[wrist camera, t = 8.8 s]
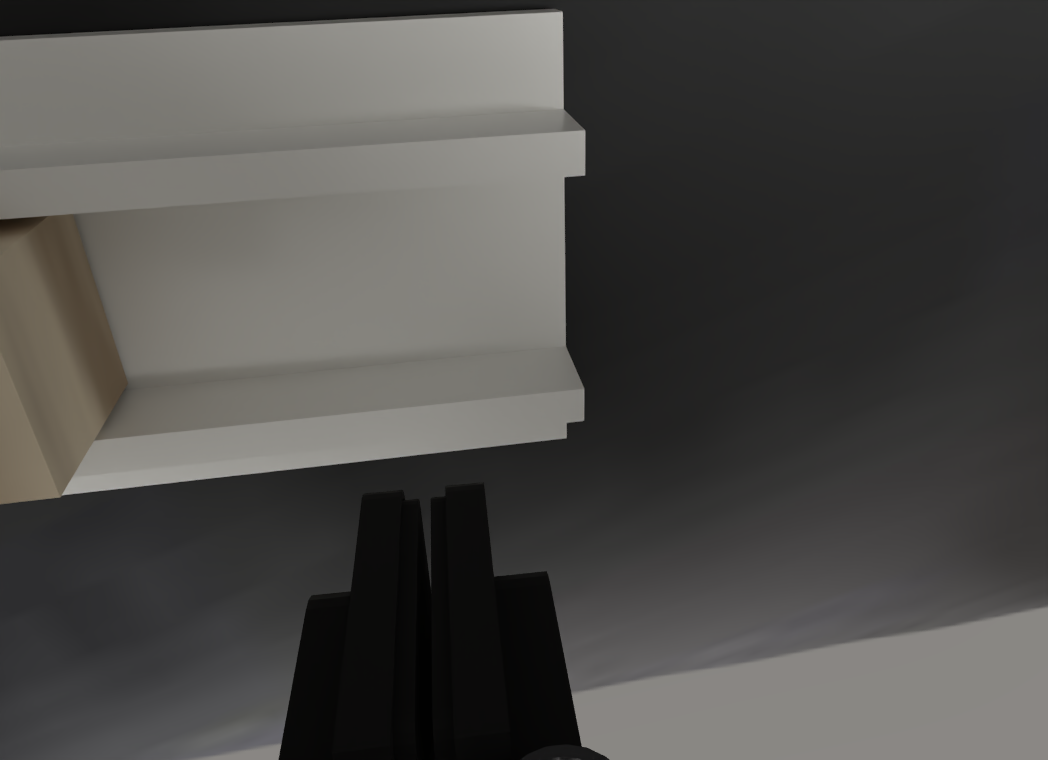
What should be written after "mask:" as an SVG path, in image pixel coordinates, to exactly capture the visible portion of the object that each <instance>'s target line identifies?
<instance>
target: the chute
mask: <svg viewBox="0 0 1048 760" xmlns="http://www.w3.org/2000/svg"><path fill="white" fill-rule="evenodd" d="M572 176H585V130H584V129H583V128H582V127H581V126H580V125H579V124H578V123H577V122H576V121H575V120H574V119H573V118H572V117H571V116H570V115H569V114H568V113H567V112H566V111H565V110H564V96H563V12H562V11H560V10H557V9H538V10H518V11H498V12H478V13H459V14H439V15H419V16H399V17H380V18H360V19H340V20H320V21H301V22H281V23H261V24H242V25H222V26H202V27H182V28H163V29H143V30H123V31H103V32H84V33H64V34H44V35H24V36H5V37H0V219H13V218H26V217H40V216H53V215H66V214H73V216H74V220H75V223H76V226H77V229H78V232H79V235H80V238H81V241H82V244H83V247H84V250H85V253H86V256H87V259H88V262H89V265H90V268H91V271H92V275H93V278H94V281H95V284H96V287H97V290H98V293H99V296H100V299H101V302H102V305H103V308H104V311H105V314H106V317H107V320H108V323H109V326H110V329H111V333H112V336H113V339H114V342H115V345H116V348H117V351H118V354H119V357H120V360H121V363H122V366H123V369H124V372H125V375H126V378H127V381H128V384H127V386H126V388H125V389H124V391H123V393H122V394H121V396H120V398H119V400H118V401H117V403H116V405H115V406H114V408H113V410H112V411H111V413H110V415H109V416H108V418H107V420H106V421H105V423H104V425H103V426H102V428H101V430H100V432H99V433H98V435H97V437H96V438H95V440H94V442H93V443H92V445H91V447H90V448H89V450H88V452H87V453H86V455H85V457H84V458H83V460H82V462H81V463H80V465H79V467H78V469H77V470H76V472H75V474H74V475H73V477H72V479H71V480H70V482H69V484H68V485H67V487H66V489H65V490H64V492H63V494H62V495H68V494H77V493H86V492H95V491H104V490H112V489H121V488H130V487H139V486H148V485H157V484H166V483H174V482H183V481H192V480H201V479H210V478H219V477H228V476H236V475H245V474H254V473H263V472H272V471H281V470H290V469H298V468H307V467H316V466H325V465H334V464H343V463H352V462H360V461H369V460H378V459H387V458H396V457H405V456H413V455H422V454H431V453H440V452H449V451H458V450H467V449H475V448H484V447H493V446H502V445H511V444H520V443H529V442H537V441H546V440H555V439H564V438H567V423H570V422H579V421H584V387H583V384H582V382H581V380H580V378H579V375H578V373H577V371H576V368H575V366H574V364H573V361H572V359H571V357H570V355H569V352H568V350H567V348H566V306H565V201H564V177H572Z"/></svg>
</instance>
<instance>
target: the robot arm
mask: <svg viewBox="0 0 1048 760" xmlns="http://www.w3.org/2000/svg"><path fill="white" fill-rule="evenodd" d="M445 489H446V496H445V497H435V498H431V587H430V579H429V571H428V563H427V555H426V547H425V539H424V531H423V523H422V515H421V508H420V501H419V499H414V500H405V496H404V492H403V490H398V491H387V492H377V493H366V494H363V497H362V503H361V511H360V520H359V528H358V537H357V545H356V553H355V562H354V570H353V579H352V587H351V592H342V593H332V594H322V595H313V596H311V597H310V599H309V601H308V605H307V608H306V613H305V619H304V624H303V630H302V635H301V640H300V646H299V651H298V657H297V662H296V668H295V673H294V679H293V684H292V690H291V695H290V700H289V706H288V711H287V717H286V722H285V728H284V733H283V739H282V744H281V750H280V756H279V760H609V759H608V758H607V757H605V756H603V755H601V754H599V753H597V752H595V751H593V750H591V749H589V748H586V747H582V746H581V741H580V736H579V730H578V726H577V720H576V715H575V710H574V705H573V700H572V694H571V689H570V684H569V679H568V674H567V669H566V663H565V658H564V653H563V648H562V643H561V638H560V632H559V627H558V622H557V617H556V612H555V607H554V601H553V596H552V591H551V586H550V581H549V577H548V574H547V571H545V572H535V573H526V574H516V575H506V576H497V577H494V574H493V565H492V555H491V546H490V536H489V527H488V518H487V508H486V499H485V489H484V482H483V483H473V484H462V485H451V486H446V487H445Z"/></svg>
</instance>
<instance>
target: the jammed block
mask: <svg viewBox="0 0 1048 760" xmlns="http://www.w3.org/2000/svg"><path fill="white" fill-rule="evenodd" d="M127 384H128V381H127V378H126V375H125V372H124V369H123V366H122V363H121V360H120V357H119V354H118V351H117V348H116V345H115V342H114V339H113V336H112V333H111V329H110V326H109V323H108V320H107V317H106V314H105V311H104V308H103V305H102V302H101V299H100V296H99V293H98V290H97V287H96V284H95V281H94V278H93V275H92V271H91V268H90V265H89V262H88V259H87V256H86V253H85V250H84V247H83V244H82V241H81V238H80V235H79V232H78V229H77V226H76V223H75V220H74V216H73V214H66V215H53V216H40V217H26V218H13V219H0V504H6V503H15V502H24V501H32V500H41V499H50V498H59V497H61V495H62V494H63V492H64V490H65V489H66V487H67V485H68V484H69V482H70V480H71V479H72V477H73V475H74V474H75V472H76V470H77V469H78V467H79V465H80V463H81V462H82V460H83V458H84V457H85V455H86V453H87V452H88V450H89V448H90V447H91V445H92V443H93V442H94V440H95V438H96V437H97V435H98V433H99V432H100V430H101V428H102V426H103V425H104V423H105V421H106V420H107V418H108V416H109V415H110V413H111V411H112V410H113V408H114V406H115V405H116V403H117V401H118V400H119V398H120V396H121V394H122V393H123V391H124V389H125V388H126V386H127Z"/></svg>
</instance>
